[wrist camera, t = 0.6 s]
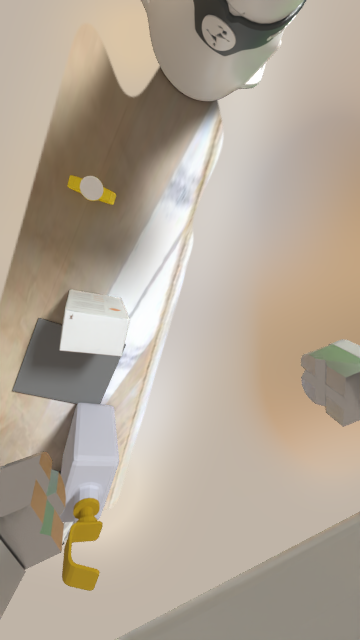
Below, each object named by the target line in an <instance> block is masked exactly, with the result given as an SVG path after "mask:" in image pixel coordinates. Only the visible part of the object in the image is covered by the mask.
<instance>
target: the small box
mask: <svg viewBox="0 0 360 640" xmlns="http://www.w3.org/2000/svg"><path fill="white" fill-rule="evenodd" d="M129 321H130V318H129V316H128V313H127V311H126V308H125V306H124V304H123V301H122V299H121V298H119V297H113V296H107V295H101V294H95V293H90V292H83V291H78V290H72V289H70V290H69V294H68V298H67V302H66V306H65V311H64V318H63V324H62V331H61V339H60V347H59V350H60V351H69V352H80V353H90V354H101V355H111V356H122V352H123V348H124V343H125V339H126V335H127V330H128V326H129Z"/></svg>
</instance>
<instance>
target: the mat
mask: <svg viewBox="0 0 360 640" xmlns="http://www.w3.org/2000/svg"><path fill="white" fill-rule="evenodd" d="M61 331H62V325H61V324H58V323H54V322H51V321H48V320H45V319H41V318H39V319H38V321H37V324H36V327H35V330H34V333H33V335H32V338H31V341H30V344H29V347H28V349H27V352H26V355H25V358H24V360H23V363H22V366H21V369H20V372H19V374H18V377H17V380H16V383H15V386H14V388H13V391H16V392H21V393H26V394H31V395H36V396H41V397H46V398H51V399H56V400H61V401H66V402H71V403H76V404H78V403H91V404H100V403H101V401H102V398H103V396H104V394H105V391H106V389H107V387H108V385H109V382H110V380H111V378H112V375H113V373H114V371H115V369H116V366H117V364H118V362H119V359H120V357H121V356H111V355H101V354H90V353H80V352H69V351H60V350H59V347H60V339H61ZM125 346H126V344H124V348H125ZM124 348H123V350H124ZM122 353H123V352H122Z"/></svg>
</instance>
